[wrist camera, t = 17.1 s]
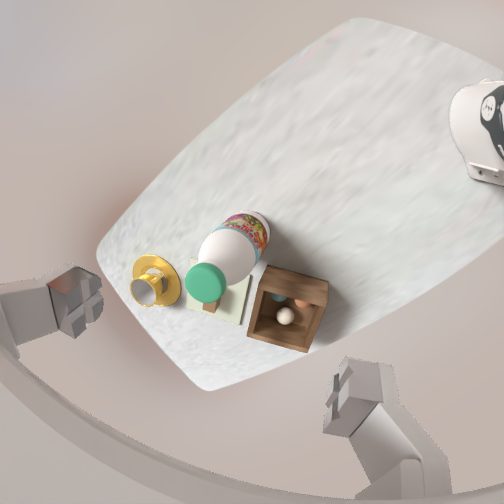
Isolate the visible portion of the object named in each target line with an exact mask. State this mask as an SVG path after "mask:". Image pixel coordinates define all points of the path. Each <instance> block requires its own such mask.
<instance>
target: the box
mask: <svg viewBox="0 0 504 504" xmlns="http://www.w3.org/2000/svg"><path fill="white" fill-rule="evenodd" d="M270 292H271V293H275V294H278V295H282V296H285V297H287V298H286V299H285V300H284V301H280V302H278V301H275V300H273V299H272V297H271V295H270ZM295 299H296V300H300V301H304V302H307V303H311V306H309V307H308V308H300V307H298V306H297V305H296V303H295ZM327 303H328V281H325V280H321V279H318V278H314V277H310V276H307V275H303V274H299V273H296V272H292V271H289V270H285V269H281V268H278V267H274V266H270V265H267V267H266V269H265V271H264V273H263V275H262V277H261V279H260V282H259V284H258V288H257V293H256V297H255V302H254V306H253V310H252V315H251V319H250V323H249V327H248V332H247V337H251V338H254V339H257V340H261V341H264V342H268V343H271V344H275V345H278V346H282V347H285V348H289V349H293V350H297V351H300V352H304V353H308V350H309V348H310V346H311V343H312V341H313V338H314V336H315V333H316V331H317V328H318V326H319V323H320V321H321V318H322V316H323V313H324V310H325V308H326V305H327ZM283 307H289V308H291V309H292V310H293V312H294V320H293V321H292V322H291V323H290V324H287V325H284V324H281V323H280V322H279V321H278V320H277V312H278V310H279V309H281V308H283Z"/></svg>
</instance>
